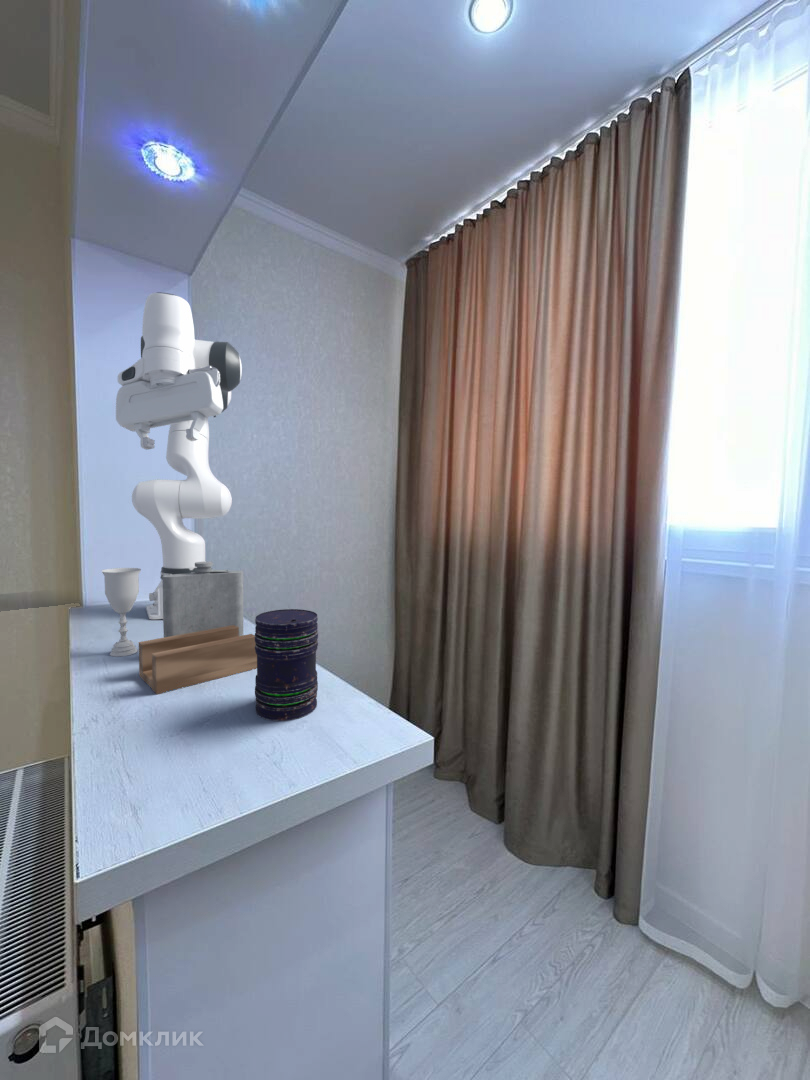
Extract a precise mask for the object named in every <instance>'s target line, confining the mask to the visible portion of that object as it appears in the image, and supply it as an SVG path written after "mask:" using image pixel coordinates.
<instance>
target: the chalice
mask: <svg viewBox="0 0 810 1080" xmlns="http://www.w3.org/2000/svg"><path fill="white" fill-rule="evenodd" d="M141 570H142V569H141V568H138V567H119V568H118V567H116V568H107V569H106V568H105V569H102V570H101V573H102V575H103V576H104V594H105V597H106V599H107V601H108V603H109V605H110V606H111V608H112V609H113V611H114V612H115V613H117V614H119V617H120V618H119V621H118V624H119V625H120V626H119V627H120V628H119V630H118V633H120V638H119V640H118V641H116V642H115V643H114V644H113V647H112V648H111V652H110V653H109V656H110V657H126V656H130V655H134V654H136V653H137V652H138V649H137V648H136V645H135V644H134V643H135V642H133V641H132V640H129V639H128V638H127V632H128V631H129V629H128V628H127V627H126V625H127V623H128V620H127V618H126V615H127V613H129V612H131V610H132V609H133V606H134V604H135V602H136V601H137V599H138V598H137V597H138V595H139V592H140V584H139V583H140V582H139V578H140V577H139V574H140V573H141Z"/></svg>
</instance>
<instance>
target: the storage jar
mask: <svg viewBox="0 0 810 1080" xmlns="http://www.w3.org/2000/svg"><path fill="white" fill-rule="evenodd" d="M318 619H319V617H318V613H317V612H314V611H312V610H308V609H298V608H297V609H294V608H293V609H292V608H289V609H288V608H287V609H286V608H285V609H275V610H270V611H264V612H262V613H259V614H256V616H255V617H254V622H255V629H254V630H255V631H254V632H255V633H254V635H255V652H256V654H257V669H256V675H255V685H254V697H255V703H256V705H255V714H256V715H257V716H258V717H260V718H261V719H263V720H267V721H272V722H287V721H293V720H299V719H302V718H303V717H306V716H308V715H310V714H312V713H313V712H314V711H315V710H316V709H317V707H318V701H317V699H318V698H317V697H318V689H319V685H318V684H319V683H318V671H317V650H318V646H319V642H318V641H319V640H318V639H319V630H318Z"/></svg>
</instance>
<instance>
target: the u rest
mask: <svg viewBox="0 0 810 1080" xmlns="http://www.w3.org/2000/svg"><path fill="white" fill-rule="evenodd" d="M138 667H139V669H138V670H139V677H140V679H142V680H143V682H145V683H147V684H148V685H149V686H150V687H151V688H152V689H151V688H150V687H149V686H148V685H147V684H146V685H147V686H148V687H149V688H150V689H151V690H152V691H153V692H154V693H155V694H156V695H161V694H164V693H167V692H166V691H168V692H170V691H169V690H172V691H174V690H173V689H176V690H178V688H180V689H183V688H182V687H184V688H187V687H190V685H191V686H194V684H195V685H198V683H199V684H202V682H203V683H206V682H205V681H207V682H210V680H211V681H213V680H217V679H222V678H224V677H230V676H233V674H234V675H237V674H236V673H238V674H240V672H241V673H245V672H248V670H249V671H252V669H253V670H257V669H256V668H257V654H256V652H255V634H253V633H249V634H243V636H239V627H237V626H234V625H232V626H226V627H221V628H215V629H209V630H204V631H198V632H193V633H187V634H181V635H176V636H170V637H165V638H164V637H160V638H154V639H149V640H142V641H138ZM244 671H245V672H244ZM229 675H230V676H229ZM186 686H187V687H186ZM163 692H164V693H163Z"/></svg>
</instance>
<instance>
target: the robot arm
mask: <svg viewBox="0 0 810 1080" xmlns="http://www.w3.org/2000/svg"><path fill="white" fill-rule="evenodd" d="M141 328H142V332H141V333H142V335H141V337H140V357H141V358H139V359H138V360H137V361H136V362H135V363H133V364H132V365H130V366H129V367H128V368H126V369H124V370H122V371H120V372H119V373H118V375H117V378H116V379H117V383H118V384H119V385H121V386H120V388H119V389H118V391H117V393H116V399H115V400H116V402H115V421H116V422H117V424H118V425H119V426H120V427H122V428H124V429H126V430H128V431H130V432H135V433H136V434H137V436H138V437H139V439H140V447H141V448H142V449H144V450H146V451H147V450H152V449H155V447H156V446H155V441H156V440H154V439H153V438H151V437H149V435H148V434H150V433H151V429H154V428H160V427H164V426H169V430H168V434H167V435H168V436H167V445H166V453H165V454H166V456H165V458H166V462H167V464H168V465H169V467H171V468H172V469H173V470H174V471H176V472H178V473H179V474H182V475H185V477H186V478H185V479H161V478H160V479H158V478H157V479H150V480H145V481H139V482H138V483H137V484H136V486H134V488H133V490H132V493H131V502H132V505H133V507H134V509H135V510H136V512H137V513H138V514H139V515H141V516H142V517H144V518H145V520H148V521H149V523H151V524H152V526H153V527H154V528H155V530H156V532H157V534H158V537H159V539H160V543H161V544H160V545H161V551H162V567H161V571H160V576H159V577H160V581H159V583H158V585H157V586H156V588H155V590H154V591H153V592H150V593H149V595H148V600H149V601H150V602H153V604H149V605H148V604H147V605H146V606H145V607H146V608H145V610H146V614H147V617H148V619H149V620H163V578H162V576H164V575H173V574H185V573H197V572H196V568H197V567H195V562H206V541H205V539H204V537H203V536H202V535H201V534H200V533H197V532H196V531H193V530H191V529H188V528H187V527H186V526H185V525H184V522H183V520H184V519H195V520H197V519H198V520H199V519H200V520H201V519H202V520H206V519H207V520H209V519H215V518H219V517H225V516H226V515H227V514H228V513H229V511H230V510H231V508H232V503H233V499H232V494H231V491H230V490H229V488H228V487H227V486H226V485H225V484H224V483H223V482H221V481H220V480H219V479H217V478H216V476H215V475H214V474H213V472H212V470H211V467H210V464H209V463H210V461H209V459H210V458H209V448H210V447H209V446H210V427H209V426H210V425H209V418H211V417H213V418H217V416H220V415H221V414H222V413H223V412H225V410H226V409H228V407H229V404H230V403H231V400H232V391H233V390H234V389H236V388H237V387H238V386H239V384H240V383H241V379H242V377H243V376H242V375H243V365H242V360H241V357H240V354H239V352H238V350H237V349H236V348H235V347H234V346H233V344H231V343H230V342H227V341H209V340H202V339H195V338H196V337H195V336H196V335H195V326H194V319H193V313H192V308H191V305H190V303H189V302H188V301H187V300H186V299H184V298H183V297H181V296H179V295H177V294H173V293H168V292H152V293H150V294H148V296H147V298H146V300H145V304H144V309H143V316H142V327H141Z"/></svg>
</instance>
